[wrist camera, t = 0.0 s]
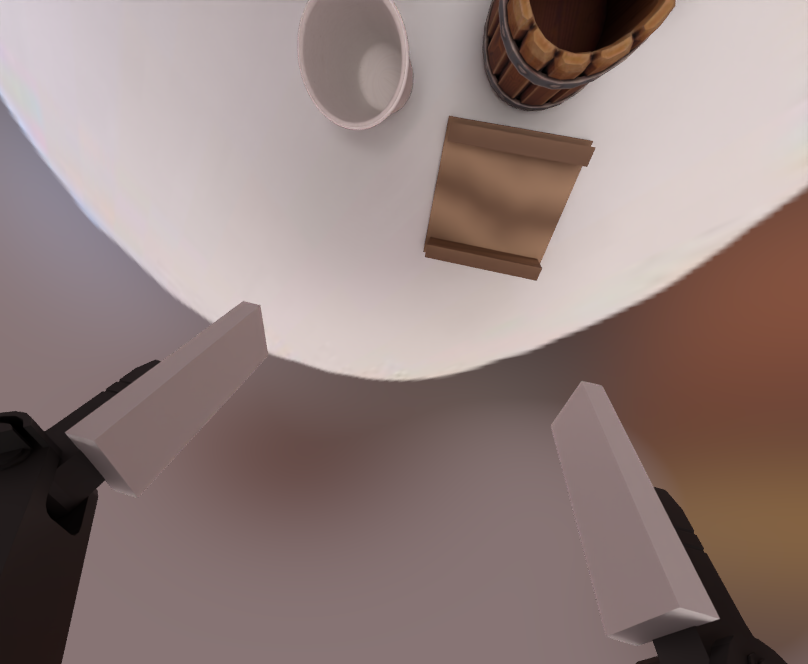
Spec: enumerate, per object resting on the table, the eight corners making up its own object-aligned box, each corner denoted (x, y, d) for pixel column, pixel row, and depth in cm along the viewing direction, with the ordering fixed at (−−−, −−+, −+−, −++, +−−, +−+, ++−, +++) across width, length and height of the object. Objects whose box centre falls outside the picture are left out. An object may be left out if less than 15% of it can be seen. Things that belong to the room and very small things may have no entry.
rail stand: (449, 116, 30) (446, 114, 27) (590, 140, 29) (604, 142, 26) (424, 249, 38) (419, 260, 35) (533, 272, 37) (539, 285, 34)
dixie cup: (367, -5, 26) (320, -65, 18) (444, 58, 28) (431, 27, 20) (332, 98, 31) (282, 86, 23) (399, 147, 32) (374, 153, 24)
